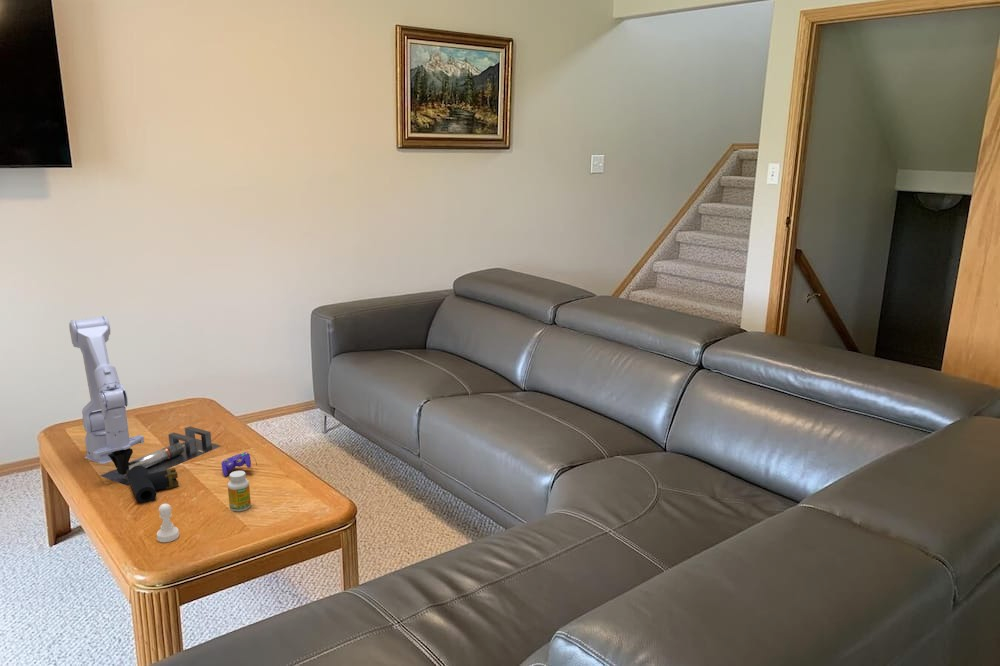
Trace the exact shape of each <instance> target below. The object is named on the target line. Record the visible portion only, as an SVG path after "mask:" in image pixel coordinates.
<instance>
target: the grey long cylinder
mask: <svg viewBox="0 0 1000 666" xmlns="http://www.w3.org/2000/svg"><path fill="white" fill-rule="evenodd" d="M181 443H182V442H179V443H176V444H173V445H171V446H170V445H168V446H165V447H163V448H161V449H158V450H156V451H153V452H151V453H148V454H146V455H143V456H141V457H138V458H135V459H133V460H131V461H130V460H129V462H128V467H127V473H126V475H128V472H129V470H130V469H131V468H133V467H134V466H143V467H145V468H148V467H150V466H153V465H155V464H158V463H160V462H162V461H165V460H168V459H170V458H172V457H174V456H177V455H179V454H182V453H183V452H184V448H183V446H182V444H181Z"/></svg>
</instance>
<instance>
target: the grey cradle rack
mask: <svg viewBox="0 0 1000 666" xmlns="http://www.w3.org/2000/svg"><path fill="white" fill-rule="evenodd" d="M167 435H168V443H169V444H168V445H169V446H171V445H173V444H176V443H181V444H182V446H183V448H184V452H183V453H182V454H179V455H177V456H174V457H172V458H170V459H168V460H165V461H162V462H160V463H158V464H155V465H153V466H150V467H148V468H146V469H147V472H148V474H150V473H155V472H160V471H162V470H166V469H171V468H175V466H178V465H181V464H183V463H186V462H188V461H189V460H192V459H194V458H197V457H200V456H203V455H204V454H206V453H208V452H211V451H213V450H216V449H218V448H221V447H222V445H220V444H216V443H212V434H211V431H208V430H204V429H200V428H197V427H194V426H187V427H184V434H181V433H177V432H171V433H169V434H167ZM196 435H198V436H199V435H200V438H201V439H198V438H196ZM180 441H181V442H180ZM99 476H100V477H101V478H104V479H107V480H111V481H113V482H116V483H119V484H122V485H125V486H127V487H128V486H131V483H130V480H129V478H128V475H126V474H124V475H121V474H119V473H118V471H117V468H115V469H112V470H110V471H108V472H105V473H103V474H101V475H99Z"/></svg>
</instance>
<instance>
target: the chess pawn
mask: <svg viewBox="0 0 1000 666" xmlns="http://www.w3.org/2000/svg"><path fill="white" fill-rule="evenodd" d="M171 511H172V506H171V505H170V504H169V503H162V504H160V506H159V507H158V513H159V515H158V516H159V519H162V524H161V525H160V527H159V528H160V529H158V531H157V532H156V540H157V541H158V542H159V543H169V542H174V541H175V540H177V539H178V538H179V537H180V532H179V531H180V530H179V528H178V527H177V526H174V523H173V522H172V521H171V519H170V518H171V517H172V516H173V512H172V513H171Z"/></svg>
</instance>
